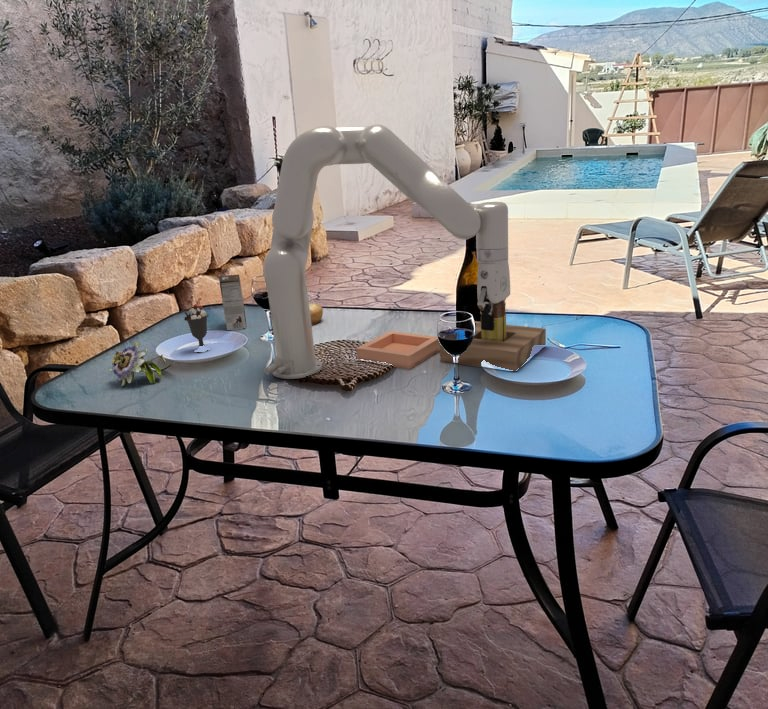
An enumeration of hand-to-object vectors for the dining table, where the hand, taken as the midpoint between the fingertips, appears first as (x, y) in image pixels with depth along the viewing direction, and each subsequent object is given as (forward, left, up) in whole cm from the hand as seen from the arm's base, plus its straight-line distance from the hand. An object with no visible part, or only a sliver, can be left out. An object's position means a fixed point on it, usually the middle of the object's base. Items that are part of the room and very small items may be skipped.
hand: (493, 325), depth 156 cm
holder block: (0, 0, -8) cm, 8 cm away
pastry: (+6, +68, -8) cm, 69 cm away
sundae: (-28, +78, -8) cm, 83 cm away
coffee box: (-6, +87, -8) cm, 88 cm away
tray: (-10, +22, -8) cm, 25 cm away
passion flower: (-52, +74, -8) cm, 91 cm away
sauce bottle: (0, 0, -8) cm, 8 cm away
